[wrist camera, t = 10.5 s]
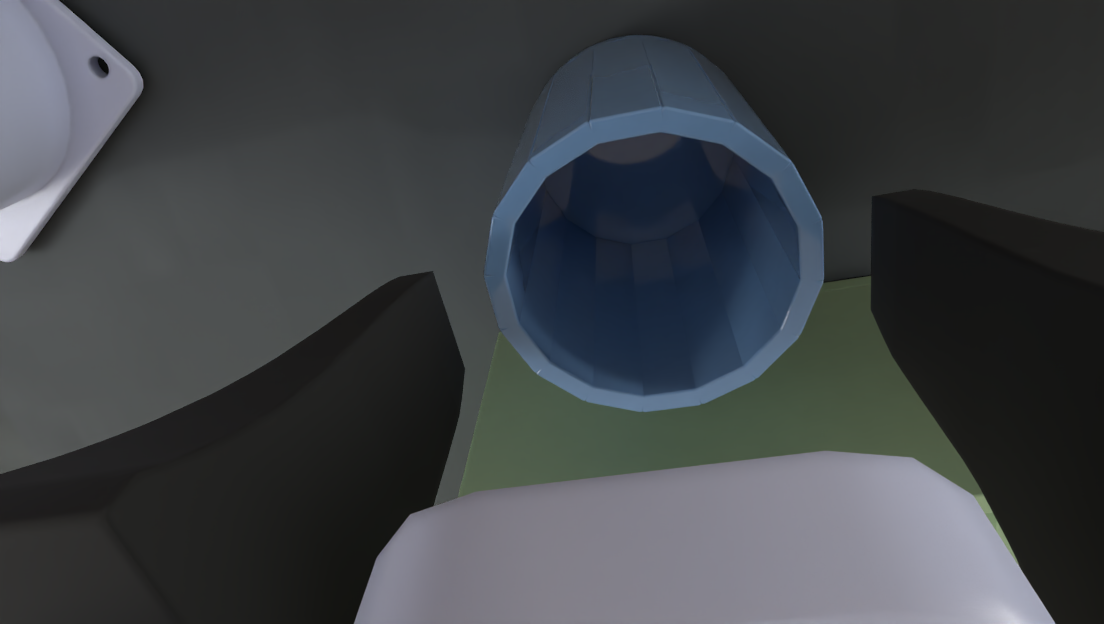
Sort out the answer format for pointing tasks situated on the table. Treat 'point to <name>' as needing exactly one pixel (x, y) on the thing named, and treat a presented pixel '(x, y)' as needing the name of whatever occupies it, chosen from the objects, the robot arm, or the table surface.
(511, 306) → the cup
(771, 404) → the bin
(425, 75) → the table surface
